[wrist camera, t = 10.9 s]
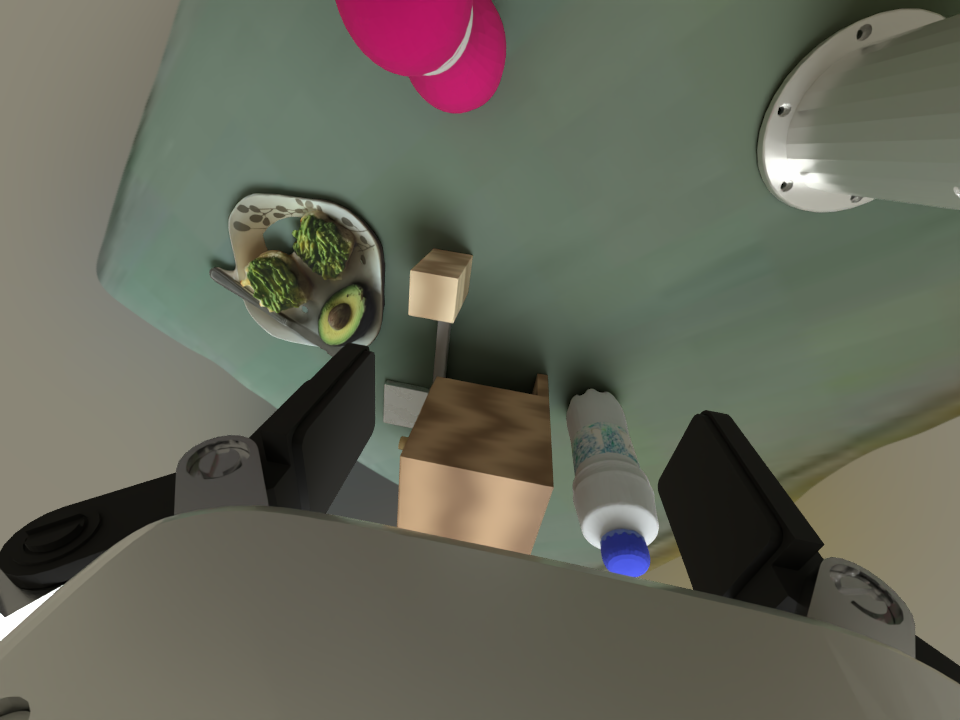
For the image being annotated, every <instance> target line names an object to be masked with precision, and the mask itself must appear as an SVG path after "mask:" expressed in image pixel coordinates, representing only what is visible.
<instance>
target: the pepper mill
mask: <svg viewBox="0 0 960 720" xmlns="http://www.w3.org/2000/svg"><path fill="white" fill-rule="evenodd" d="M335 1H336V4H337V7H338V10H339V13H340V16H341V18H342V20H343V22H344V25H345V27H346V29H347V30H348V32H349V34H350V35H351V37H352V38H353V40H354V42H355V43H356V44H357V46H358V47H359V48H360V49H361V50H362V52H363V53H364V54H365V55H366V56H367V57H369V58H370V59H371V60H372V61H373V62H374V63H376V64H377V65H379V66H380V67H382V68H383V69H385V70H387V71H390V72H392V73H395V74H398V75H402V76H409V78H410V80H411V83H412V84H413V86H414V87H415V89H416V90H417V92H418V93H419V94H420V95H421V96H422V97H423V98H424V99H425V100H426V101H427V102H428V103H430V104H431V105H432V106H434V107H435V108H437V109H439V110H442V111H444V112H449V113H464V112H468V111H471V110H473V109H476V108H478V107H480V106H482V105H483V104H485V103H486V102H487V101H488V100H489V99H490V98H491V97H492V96H493V94H494V93H495V91H496V89H497V87H498V85H499V83H500V80H501V77H502V72H503V69H504V65H505V58H506V39H505V32H504V28H503V23H502V21H501V18H500V16H499V13H498V12H497V10H496V8H495V6H494V4H493V3H492V1H491V0H335Z"/></svg>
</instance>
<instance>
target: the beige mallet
mask: <svg viewBox="0 0 960 720" xmlns="http://www.w3.org/2000/svg"><path fill="white" fill-rule="evenodd" d="M472 258H473V255H468V254H463V253H457V252H451V251H446V250H440V249H433V250H432V251H431V252H430V253H428V254H427V255H426V256H425V257H424V258H423V259H422V260H421V261H420V262H419V263H418V264H417V265H416V266H415V267H413V268H412V269H411V270H410V292H409V314H408V315H411V316H416V317H422V318H427V319H433V320H438V328H437V339H436V351H435V362H434V373H433V384H434V381H435V379H436V377H437V376H438V377H443V378H446V369H447V360H448V351H449V342H450V333H451V323H454V321H455V319H456V317H457V315H458V313H459V311H460V309H461V307H462V304H463V302H464V300H465V298H466V296H467V294H468V290H469V282H470V274H471V266H472Z"/></svg>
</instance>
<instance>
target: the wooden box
mask: <svg viewBox="0 0 960 720" xmlns="http://www.w3.org/2000/svg"><path fill="white" fill-rule="evenodd" d="M399 449H401V450H403V451H402V453H401V455H400V472H399V497H398V519H397V527H398V528H403V529H408V530H413V531H417V532H422V533H427V534H432V535H437V536H442V537H447V538H451V539H456V540H461V541H466V542H471V543H476V544H481V545H485V546H490V547H495V548H500V549H504V550H509V551H514V552H519V553H523V554H528V555H530V554H531V551H532V548H533V545H534V542H535V540H536V537H537V534H538V531H539V528H540V525H541V522H542V519H543V516H544V514H545V511H546V508H547V505H548V502H549V499H550V496H551V493H552V491H553V488H554V486H553V467H552V447H551V428H550V408H549V389H548V375H543V374H538V373H537V377H536V381H535V385H534V389H533V393H532V394H527V393H522V392H516V391H511V390H506V389H501V388H495V387H490V386H485V385H480V384H475V383H469V382H464V381H459V380H454V379H449V378H443V377H438V376H437V377H436V379H435V381H434V384H432V386H431V388H430V391H429V393H428V395H427V397H426V400H425V402H424V404H423V406H422V408H421V411H420V413H419V415H418V417H417V420H416V422H415V424H414V426H413V429H412V431H411V433H410V435H409V437H404V436H402V437H401V439H400V442H399Z"/></svg>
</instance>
